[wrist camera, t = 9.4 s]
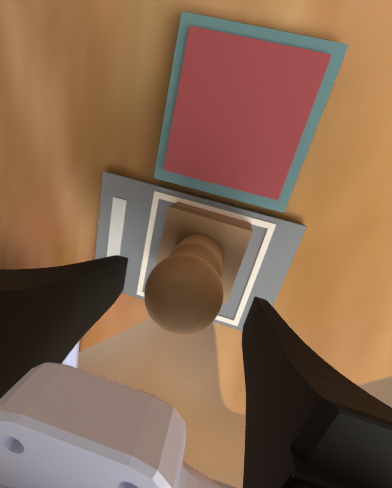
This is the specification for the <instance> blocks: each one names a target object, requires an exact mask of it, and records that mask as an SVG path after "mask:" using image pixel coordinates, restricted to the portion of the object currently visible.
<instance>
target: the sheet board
mask: <svg viewBox="0 0 392 488" xmlns="http://www.w3.org/2000/svg"><path fill="white" fill-rule="evenodd" d="M176 202H182V203H185V204H188V205H192V206H195V207H199V208H202V209H206V210H209V211H212V212H216V213H219V214H223V215H226V216H230V217H233V218H236V219H240V220H243V221H247V222H250V223H251V226H252V230H253V233H252V236H251V238H250V241H249V244H248V247H247V249H246V252H245V255H244V257H243V260H242V263H241V266H240V268H239V271H238V274H237V276H236V279H235V282H234V284H233V287H232V290H231V293H230V295H229V298H228V301H227V303H222V306H221V309H220V311H219V313H218V315H217V317H216V318H215V319H214V321H213V322H216V323H219V324H222V325H225V326H228V327H231V328H234V329H238V330H241V331H243V325H244V322H245V320H246V317H247V315H248V312H249V310H250V307H251V305H252V302H253V299H254V297H255V296H256V297H259V298H262V299H266V300H267V301H268V302H269V303H270V304H271V305H272V306H273V304H274V302H275V299H276V297H277V295H278V292H279V290H280V288H281V285H282V283H283V281H284V278H285V276H286V274H287V272H288V269H289V267H290V265H291V262H292V260H293V258H294V255H295V253H296V251H297V248H298V246H299V244H300V241H301V239H302V237H303V235H304V232H305V230H306V228H307V227H306V226H305V225H303V224H299V223H296V222H292V221H288V220H285V219H281V218H277V217H273V216H270V215H266V214H262V213H259V212H255V211H251V210H248V209H244V208H240V207H236V206H233V205H229V204H225V203H222V202H218V201H214V200H211V199H207V198H203V197H199V196H196V195H192V194H188V193H185V192H181V191H177V190H174V189H170V188H166V187H163V186H159V185H155V184H151V183H148V182H144V181H140V180H137V179H133V178H129V177H126V176H122V175H118V174H114V173H111V172H103V174H102V185H101V196H100V208H99V219H98V230H97V241H96V252H95V259H100V258H104V257H109V256H114V255H119V256H123V257H126V258H128V264H127V270H126V277H125V284H124V290H123V291H122V293H124V294H127V295H131V296H134V297H137V298H140V299H143V300H145V298H144V291H145V285H146V281H147V279H148V276H149V274H150V273H151V271H152V270H153V268H154V267H155V266H156V263H157V258H158V254H159V249H160V244H161V239H162V235H163V230H164V225H165V220H166V216H167V211H168V207H169V206H170V205H172V204H174V203H176Z"/></svg>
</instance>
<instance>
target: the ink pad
mask: <svg viewBox="0 0 392 488" xmlns="http://www.w3.org/2000/svg"><path fill="white" fill-rule="evenodd" d="M348 45H349V44H344V43H339V42H334V41H329V40H324V39H319V38H314V37H309V36H304V35H299V34H294V33H289V32H284V31H279V30H274V29H269V28H264V27H259V26H254V25H249V24H244V23H239V22H234V21H229V20H224V19H219V18H214V17H209V16H204V15H199V14H194V13H189V12H184V11H182V12H181V18H180V24H179V29H178V35H177V41H176V47H175V53H174V59H173V65H172V71H171V77H170V83H169V89H168V95H167V101H166V107H165V113H164V119H163V125H162V130H161V136H160V142H159V148H158V154H157V160H156V166H155V172H154V178H155V179H159V180H163V181H166V182H170V183H174V184H178V185H181V186H185V187H189V188H192V189H196V190H200V191H204V192H207V193H211V194H215V195H219V196H222V197H226V198H230V199H233V200H237V201H241V202H245V203H248V204H252V205H256V206H260V207H263V208H267V209H271V210H274V211H278V212H282V213H284V211H285V208H286V206H287V203H288V201H289V198H290V195H291V193H292V190H293V188H294V185H295V182H296V180H297V177H298V175H299V172H300V169H301V167H302V164H303V162H304V159H305V156H306V154H307V151H308V149H309V146H310V143H311V141H312V138H313V136H314V133H315V130H316V128H317V125H318V123H319V120H320V118H321V115H322V112H323V110H324V107H325V105H326V102H327V99H328V97H329V94H330V92H331V89H332V86H333V84H334V81H335V79H336V76H337V73H338V71H339V68H340V66H341V63H342V60H343V58H344V55H345V53H346V50H347V47H348Z"/></svg>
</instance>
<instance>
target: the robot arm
mask: <svg viewBox="0 0 392 488" xmlns="http://www.w3.org/2000/svg"><path fill="white" fill-rule="evenodd" d="M127 264H128V258H126V257H123V256H119V255H114V256H109V257H104V258H100V259H95V260H91V261H86V262H81V263H76V264H70V265H65V266H58V267H49V268H39V269H19V270H0V488H236V487H233V486H230V485H227V484H225V483H222V482H219V481H217V480H214V479H211V478H210V477H208V476H207V475H205V474H203V473H202V472H200V471H198V470H197V469H195V468H194V467H193V466H191V465H190V464H188V463H186V462H185V461H183V455H184V450H185V443H186V424H185V422H184V421H183V419H182V418H181V417H180V415H179V414H178V413H177V411H176V410H175V409H174V407H173V406H172V405H171V404H169V403H167V402H165V401H164V400H162V399H160V398H158V397H157V396H155V395H152V394H150V393H147V392H144V391H141V390H138V389H135V388H132V387H130V386H127V385H124V384H121V383H118V382H115V381H112V380H110V379H107V378H104V377H101V376H98V375H95V374H92V373H89V372H86V371H84V370H81V369H78V355H79V341H80V339H81V338H82V337H83V336H84V334H85V333H86V332H87V331H88V330H89V329H90V328H91V327H92V326H93V325H94V324H95V323H96V322H97V321H98V320H99V319H100V318H101V316H102V315H103V314H104V313H105V312H106V311H107V310H108V309H109V308H110V307H111V306H112V305H113V304H114V302H115V301H116V300H117V298H118V297H119V295H120V294H121V293H122V291H123V290H124V284H125V277H126V270H127ZM242 350H243V362H244V373H245V384H246V431H245V432H246V433H245V457H244V459H245V460H244V477H243V488H392V408H391V407H389V406H388V405H386V404H384V403H383V402H381V401H379V400H378V399H376V398H375V397H373V396H372V395H370V394H369V393H367V392H366V391H364V390H363V389H361V388H360V387H358V386H357V385H356V384H354V383H353V382H351V381H350V380H349V379H347V378H346V377H345V376H343V375H342V374H341V373H339V372H338V371H337V370H335V369H334V368H333V367H332V366H330V365H329V364H328V363H327V362H325V361H324V360H323V359H322V358H321V357H320V356H318V355H317V354H316V353H315V352H314V351H313V350H312V349H311V348H310V347H309V346H307V345H306V344H305V343H304V342H303V341H302V340H301V339H300V338H299V336H298V335H297V334H296V333H295V332H294V331H293V330H292V329H291V328H290V327H289V326H288V325H287V323H286V322H285V321H284V320H283V319H282V318H281V316H280V315H279V314H278V313H277V311H276V310H275V309H274V308H273V307H272V305H271V304H270V303H269V302H268V301H267V300H266V299H262V298H259V297H256V296H255V297H254V299H253V302H252V305H251V307H250V310H249V312H248V315H247V317H246V320H245V322H244V325H243V333H242Z"/></svg>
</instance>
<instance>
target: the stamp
mask: <svg viewBox="0 0 392 488" xmlns="http://www.w3.org/2000/svg"><path fill="white" fill-rule="evenodd" d="M252 233H253V230H252V226H251V223H250V222H247V221H243V220H240V219H236V218H233V217H230V216H226V215H223V214H219V213H216V212H212V211H209V210H206V209H202V208H199V207H195V206H192V205H188V204H185V203H182V202H176V203H174V204H172V205H170V206H169V207H168V211H167V216H166V220H165V225H164V230H163V235H162V239H161V244H160V249H159V254H158V258H157V263H156V266H155V267H154V268H153V270H152V271H151V273H150V274H149V276H148V279H147V281H146V285H145V291H144V298H145V305H146V308H147V310H148V313H149V315H150V316H151V318H152V319H153V320H154V322H156V323H157V324H158V325H159V326H160V327H161V328H163V329H164V330H166V331H168V332H171V333H174V334H181V335H184V334H192V333H196V332H199V331H201V330H203V329H204V328H206V327H207V326H209V325H210V324H211V323H212V322H213V321H214V319H215V318H216V317H217V315H218V313H219V311H220V309H221V306H222V303H227V301H228V298H229V295H230V293H231V290H232V287H233V284H234V282H235V279H236V276H237V274H238V271H239V268H240V266H241V263H242V260H243V257H244V255H245V252H246V249H247V247H248V244H249V241H250V238H251V236H252Z"/></svg>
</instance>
